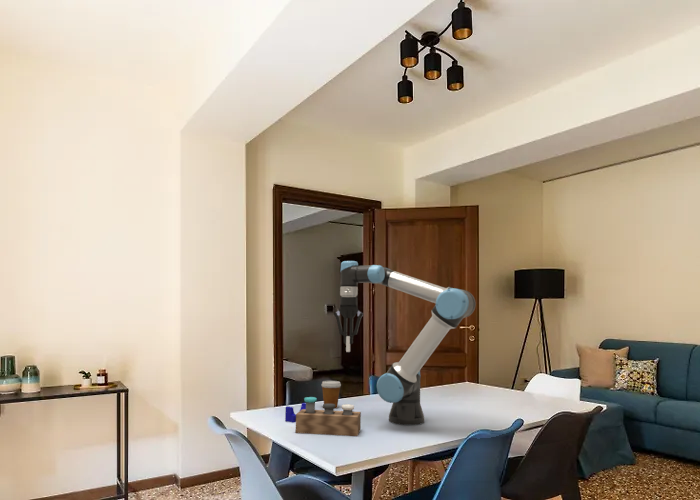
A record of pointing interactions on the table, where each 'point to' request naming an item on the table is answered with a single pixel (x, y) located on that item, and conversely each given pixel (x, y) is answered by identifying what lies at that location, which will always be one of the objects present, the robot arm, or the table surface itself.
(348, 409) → the plug grey
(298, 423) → the socket block
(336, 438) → the table surface
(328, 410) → the plug black
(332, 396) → the disposable coffee cup
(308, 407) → the plug teal
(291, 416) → the blue u-shaped block
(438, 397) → the table surface
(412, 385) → the robot arm
